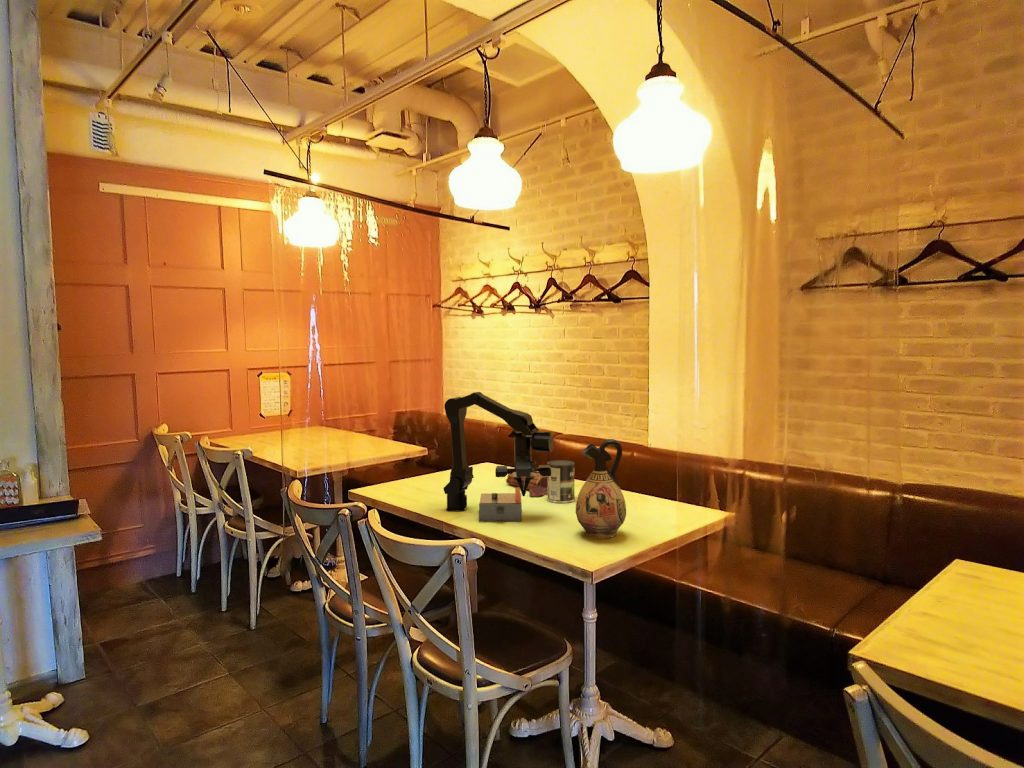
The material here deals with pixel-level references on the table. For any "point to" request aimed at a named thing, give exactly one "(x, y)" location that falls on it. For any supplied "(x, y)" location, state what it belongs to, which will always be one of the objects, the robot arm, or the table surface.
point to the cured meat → (532, 484)
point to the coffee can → (561, 481)
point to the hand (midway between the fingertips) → (523, 495)
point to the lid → (501, 498)
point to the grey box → (500, 512)
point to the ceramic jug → (601, 494)
